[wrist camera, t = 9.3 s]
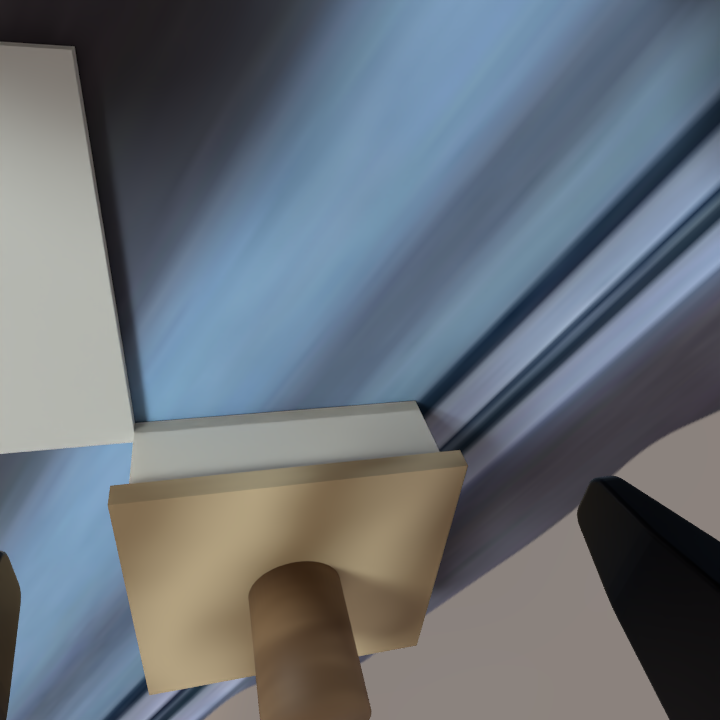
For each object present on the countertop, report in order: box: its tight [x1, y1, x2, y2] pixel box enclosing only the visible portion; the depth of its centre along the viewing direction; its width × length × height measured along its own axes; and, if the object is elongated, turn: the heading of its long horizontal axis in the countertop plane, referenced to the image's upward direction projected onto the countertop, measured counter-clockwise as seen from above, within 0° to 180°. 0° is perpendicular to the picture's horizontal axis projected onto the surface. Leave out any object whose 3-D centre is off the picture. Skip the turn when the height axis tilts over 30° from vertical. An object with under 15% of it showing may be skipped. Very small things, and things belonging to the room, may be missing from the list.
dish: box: [129, 401, 440, 484], centre depth 25 cm, size 11×11×4 cm
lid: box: [108, 450, 468, 720], centre depth 22 cm, size 12×12×6 cm
